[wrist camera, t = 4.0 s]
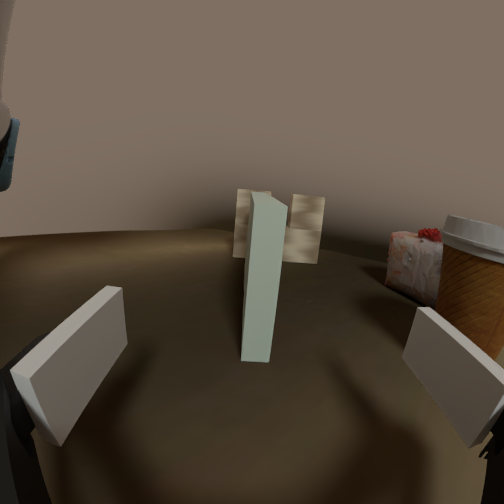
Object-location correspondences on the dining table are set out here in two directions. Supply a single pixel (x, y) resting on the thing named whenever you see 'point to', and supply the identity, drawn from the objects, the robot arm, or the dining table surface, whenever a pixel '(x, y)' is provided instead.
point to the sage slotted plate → (262, 275)
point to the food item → (416, 264)
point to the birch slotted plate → (296, 233)
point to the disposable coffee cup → (473, 282)
